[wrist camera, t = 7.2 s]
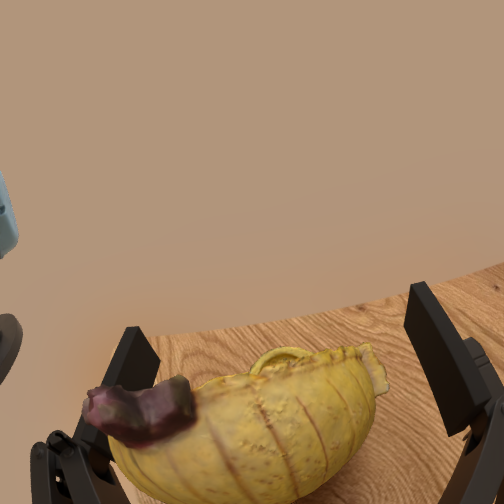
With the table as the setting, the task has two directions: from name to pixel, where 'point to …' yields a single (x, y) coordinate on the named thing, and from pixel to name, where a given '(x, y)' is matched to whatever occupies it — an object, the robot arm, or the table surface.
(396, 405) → the table surface
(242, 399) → the yellow ribbed rounded piece
